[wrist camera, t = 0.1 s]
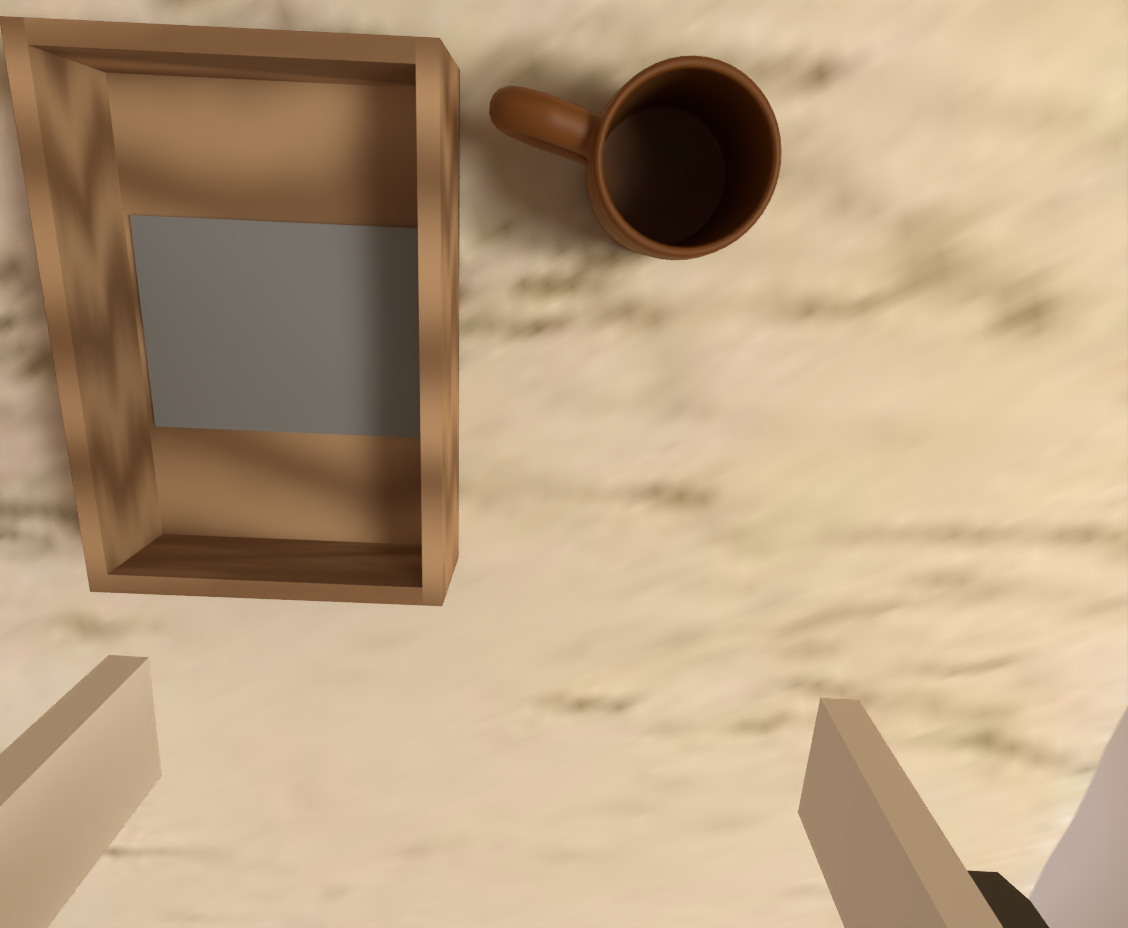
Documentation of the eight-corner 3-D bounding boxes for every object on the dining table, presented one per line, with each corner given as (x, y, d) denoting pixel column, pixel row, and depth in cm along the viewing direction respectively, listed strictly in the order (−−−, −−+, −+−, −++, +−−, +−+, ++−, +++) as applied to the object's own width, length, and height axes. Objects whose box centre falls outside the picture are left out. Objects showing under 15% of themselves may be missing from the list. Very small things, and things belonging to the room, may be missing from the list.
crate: (89, 51, 36) (-2, 16, 30) (459, 69, 36) (439, 38, 30) (152, 545, 44) (90, 591, 38) (458, 557, 44) (442, 606, 38)
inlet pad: (132, 215, 38) (129, 214, 37) (428, 228, 38) (427, 228, 37) (158, 425, 41) (155, 426, 41) (430, 436, 41) (429, 438, 41)
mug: (483, 205, 38) (458, 195, 29) (524, 46, 36) (509, -18, 27) (703, 274, 39) (745, 285, 30) (755, 123, 37) (816, 87, 28)
